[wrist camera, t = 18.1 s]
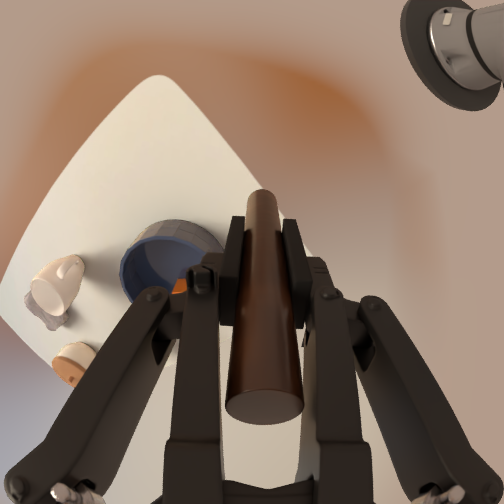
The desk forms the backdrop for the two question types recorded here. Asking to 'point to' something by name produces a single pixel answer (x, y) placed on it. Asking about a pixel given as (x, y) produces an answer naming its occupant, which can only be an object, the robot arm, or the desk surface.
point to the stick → (264, 325)
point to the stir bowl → (164, 255)
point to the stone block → (44, 313)
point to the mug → (58, 284)
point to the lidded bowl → (73, 362)
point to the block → (180, 286)
